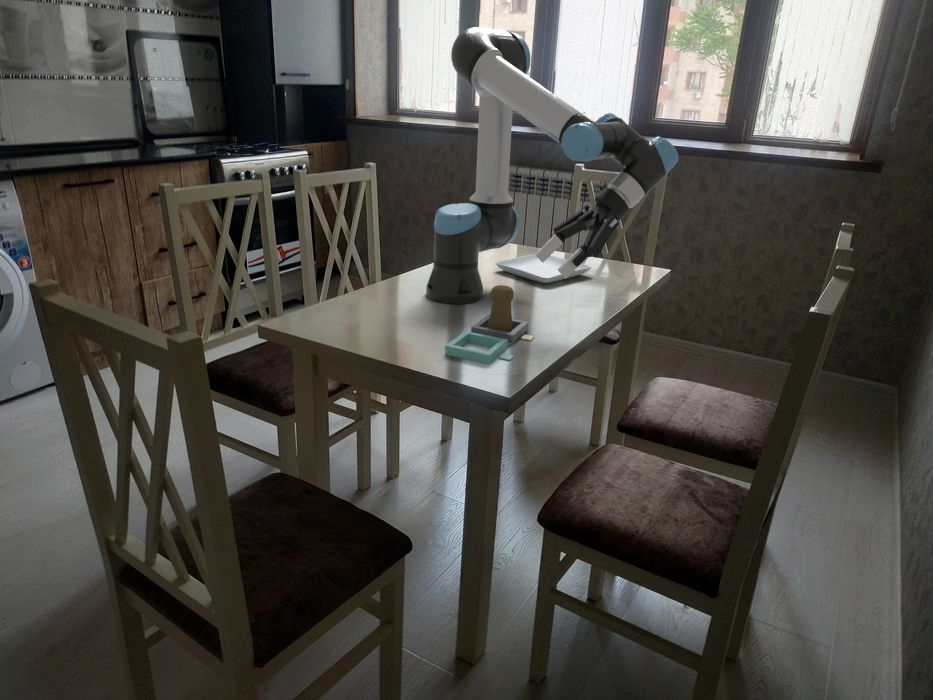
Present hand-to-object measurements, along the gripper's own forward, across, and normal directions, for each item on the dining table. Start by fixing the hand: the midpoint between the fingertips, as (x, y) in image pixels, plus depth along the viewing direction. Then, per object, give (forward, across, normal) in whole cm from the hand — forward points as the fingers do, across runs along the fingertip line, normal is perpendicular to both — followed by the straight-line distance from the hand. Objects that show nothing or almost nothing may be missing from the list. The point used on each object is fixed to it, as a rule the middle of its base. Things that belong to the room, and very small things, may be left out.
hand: (549, 266), depth 149 cm
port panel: (+21, -6, -1) cm, 22 cm away
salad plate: (-1, +46, -24) cm, 52 cm away
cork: (+19, 0, -3) cm, 19 cm away
